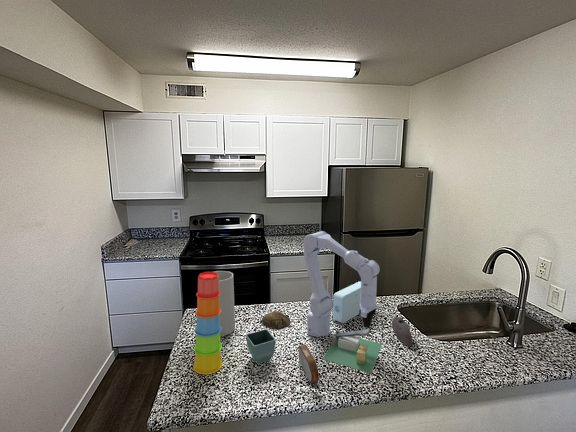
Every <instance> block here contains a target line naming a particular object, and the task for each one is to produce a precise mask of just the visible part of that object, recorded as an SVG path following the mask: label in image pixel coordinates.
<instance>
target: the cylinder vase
mask: <svg viewBox="0 0 576 432" xmlns="http://www.w3.org/2000/svg"><path fill="white" fill-rule="evenodd" d="M214 272H215V273H217V274H218V276H219V291H220V295H219V308H220V309H221V313H220V326H221V331H220V337H224V336H225V337H226V336H227V335H230V334H231V333H233V332H235V331H234V330H235V328H236V318H235V317H236V316H235V290H234V289H235V286H234V273H233V272H231V271H227V270H226V271H225V270H216V271H214Z"/></svg>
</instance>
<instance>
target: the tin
mask: <svg viewBox="0 0 576 432" xmlns="http://www.w3.org/2000/svg"><path fill="white" fill-rule="evenodd" d="M297 349H298V350H297V351H298V361H299V364H300V365H301V367H302V369H303V371H304V373H305V375H306V377H307V379H308V381H309V384H311V385H312V384H315V383H319V382H320V374H319V373H320V372H319V368H318V365H317V362H316V359H315V357H314V354H312V352H311V351H310V348H309V346H308V345H307V344H302V345H299V346H298V348H297Z"/></svg>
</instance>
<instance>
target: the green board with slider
mask: <svg viewBox="0 0 576 432" xmlns="http://www.w3.org/2000/svg"><path fill="white" fill-rule="evenodd" d="M336 332H339V333H341V332H340V330H339V329H335V333H336ZM361 344H362V345H366V346H368V349H367V361H366V364H365V366H364V365H361V364H357V363H356V359H357V350H358V348H359V347H360V345H361ZM382 345H383V344H382V343H380V342H378V341H372V340H369V339H364V338H361V335H358V336H348V337H338V338H336V336H334V335H331V345H330V346H329V348H328V349H327V351H326V352H325V354H324V355H323V357H322V360H325V361H327V362H331V363H335V364H337V365H342V366H345V367H348V368H352V369H355V370H359V371H362V372H366V373H369V374H372V373H373V370H374V367H375V364H376V362H377V359H378V356H379V353H380V350H381V347H382Z"/></svg>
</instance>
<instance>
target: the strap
mask: <svg viewBox="0 0 576 432" xmlns="http://www.w3.org/2000/svg"><path fill="white" fill-rule="evenodd" d="M370 332H371V328H363V329H362V330H353V331H352V330H351V331H343V332H340V333H339V332H336V331H335V332H334V334H333V336H336V338H338V337H348V336H360V337H364V336H369V334H370Z"/></svg>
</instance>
